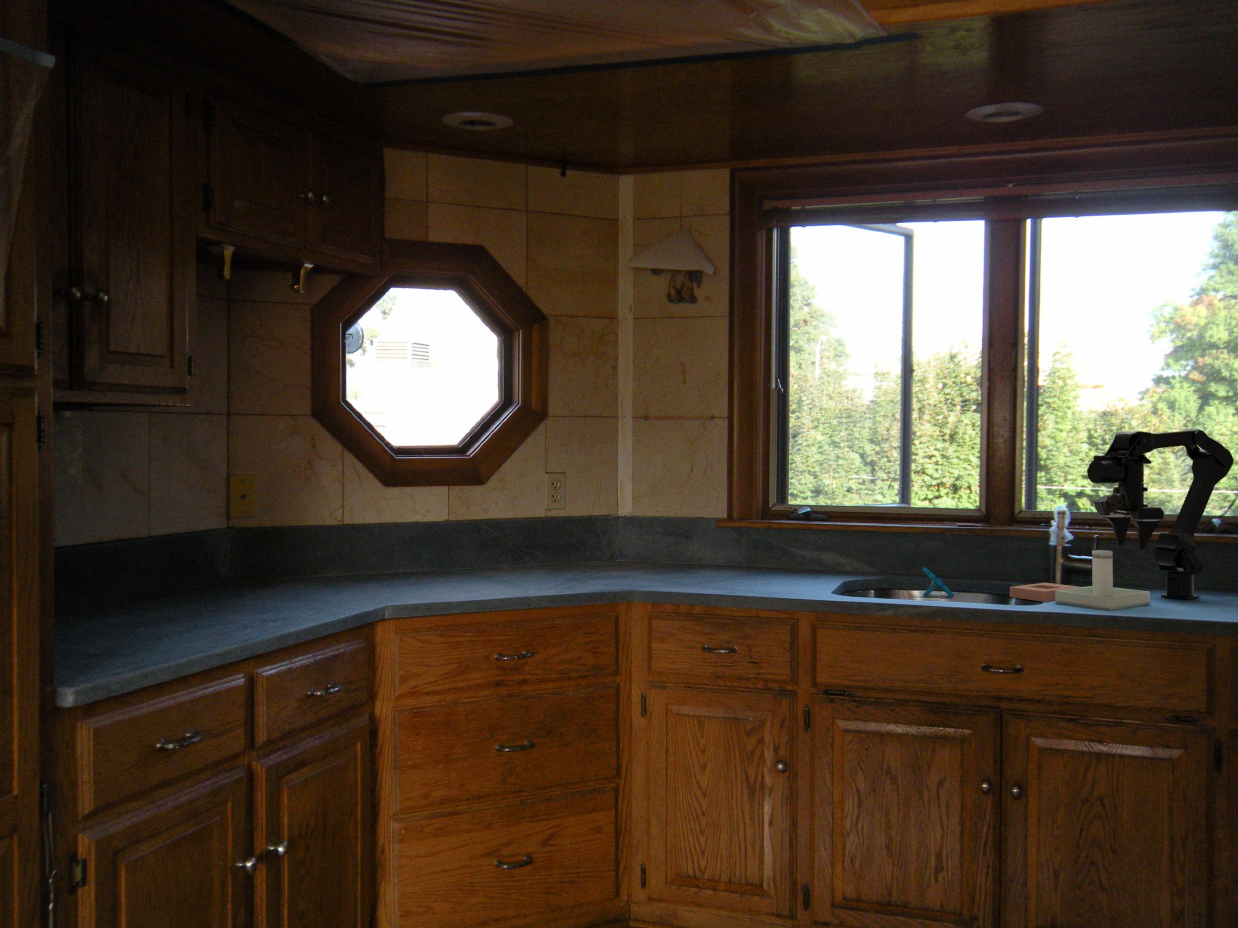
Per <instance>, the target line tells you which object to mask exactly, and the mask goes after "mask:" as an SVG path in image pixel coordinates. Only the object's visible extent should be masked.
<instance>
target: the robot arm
mask: <svg viewBox="0 0 1238 928" xmlns="http://www.w3.org/2000/svg"><path fill="white" fill-rule="evenodd" d="M1174 447H1184V448H1185V452H1186V456H1188V457H1189V459H1190V460H1191V461H1192V463H1191V473H1192V478H1193V479H1192V482H1191V484H1190V486H1189V488H1188V491H1187V493H1186V496H1185V498H1184V501H1183V502H1182V506H1181V508H1180V510H1179V512H1178V515H1177V517H1176V519H1175V522H1174V524H1173V527H1172V529H1170V531H1168V532H1167V533H1166V532H1160V533H1159V534H1158V538H1157V541H1156V542H1155V544H1154V545H1153V548H1155V549H1154V551H1153V556H1154V559H1155V561H1156V563H1157V566H1158V569H1159V572H1166V593H1163V594H1160V597H1162V598H1170V599H1178V600H1191V599H1198V598H1201V596H1200V594H1199V595H1198V594H1195V592H1194V591H1195V578H1194V577H1195V576H1197V575H1202V573H1203V569H1204V565H1203V563H1201V561H1200V560H1199V559H1198V558H1197V557H1196V555H1195V554H1196V550H1197V547H1196V546H1197V545H1196V542H1195V534H1196V532H1197V529H1198V527H1199V524H1200V523H1201V520H1202V517H1203V515H1204V513H1205V510H1206V508H1207V506H1208V503H1209V501H1210V498H1211V495H1212V494H1213V491H1214V489H1215V487H1216V485H1217V484H1218V483H1220V481H1222V480H1223V479H1224V478H1226V477H1227V476H1228V473H1229V472H1230V470H1231V469H1232V467H1233V464H1234V462H1235V459H1234V457H1233V455H1232V452H1231V451H1230V450H1229V449H1227V448H1226V447H1225V446H1224V445H1223V444H1222V443H1221V442H1218V441H1217V440H1215V439H1214V438H1212V437H1210V436H1209V435H1208V434H1207V433H1206V432H1205V431H1204V430H1202V429H1198V428H1193V429H1184V430H1178V431H1167V432H1155V433H1153V432H1150V431H1141V430H1139V431H1138V430H1135V431H1119V432H1117V433H1116V434H1115V436H1114V438H1113V440H1112V442H1111V443H1110V446H1109V447H1108V449H1107V450H1106V451H1105V453H1104V455H1093V460H1092V461H1091V462H1090V463H1089V465H1088V468H1087V470H1086V472H1087V478H1088V480H1089V481H1090V482H1091V483H1092V484H1101V485H1102V484H1117V486H1114V487H1113V488H1112V493H1110V494H1107V495H1104V496H1101V497H1099V498H1096V499H1094V500H1093V505H1094V507H1095V511H1096V513H1097V514H1099V516H1102V519H1103V520H1106V521H1107V523H1109V524H1110V525H1111V528H1112V531H1113V533H1114V536H1115V540H1116V543H1117V545H1118V546H1120V547H1121V546H1124V544H1125V542H1126V541H1125V540H1126V537H1127V533H1128V531H1129V528H1130V523H1132V524H1133V525H1134V526H1135V527H1136V535H1137V545H1138V549H1139V550H1144V549H1145V548H1146V546H1147V544H1148V543H1149V541H1150V539H1151V537H1152V535H1153V533H1154V532H1155V530H1156V528H1157V527H1158V525H1159V524H1161V523H1162V520H1165V510H1163V509H1162V508H1161V507H1159V506H1157V507H1155V506H1149V505H1148V503H1147V504H1146V503H1145V492H1148V490H1149V489H1148V487H1147V486H1145V470H1144V469H1145V465H1151V464H1152V460H1151V459H1150V458H1148V457H1147V456H1146V454H1148V453H1152V452H1153V451H1154V450H1157V449H1166V448H1167V449H1168V448H1174ZM1131 519H1132V520H1131Z"/></svg>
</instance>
